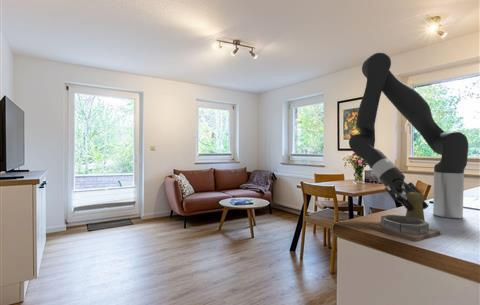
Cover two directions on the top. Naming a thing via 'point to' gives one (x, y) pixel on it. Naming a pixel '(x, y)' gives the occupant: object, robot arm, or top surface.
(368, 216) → the top surface
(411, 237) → the socket base
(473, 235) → the top surface
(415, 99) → the robot arm
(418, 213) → the cork
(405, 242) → the top surface
